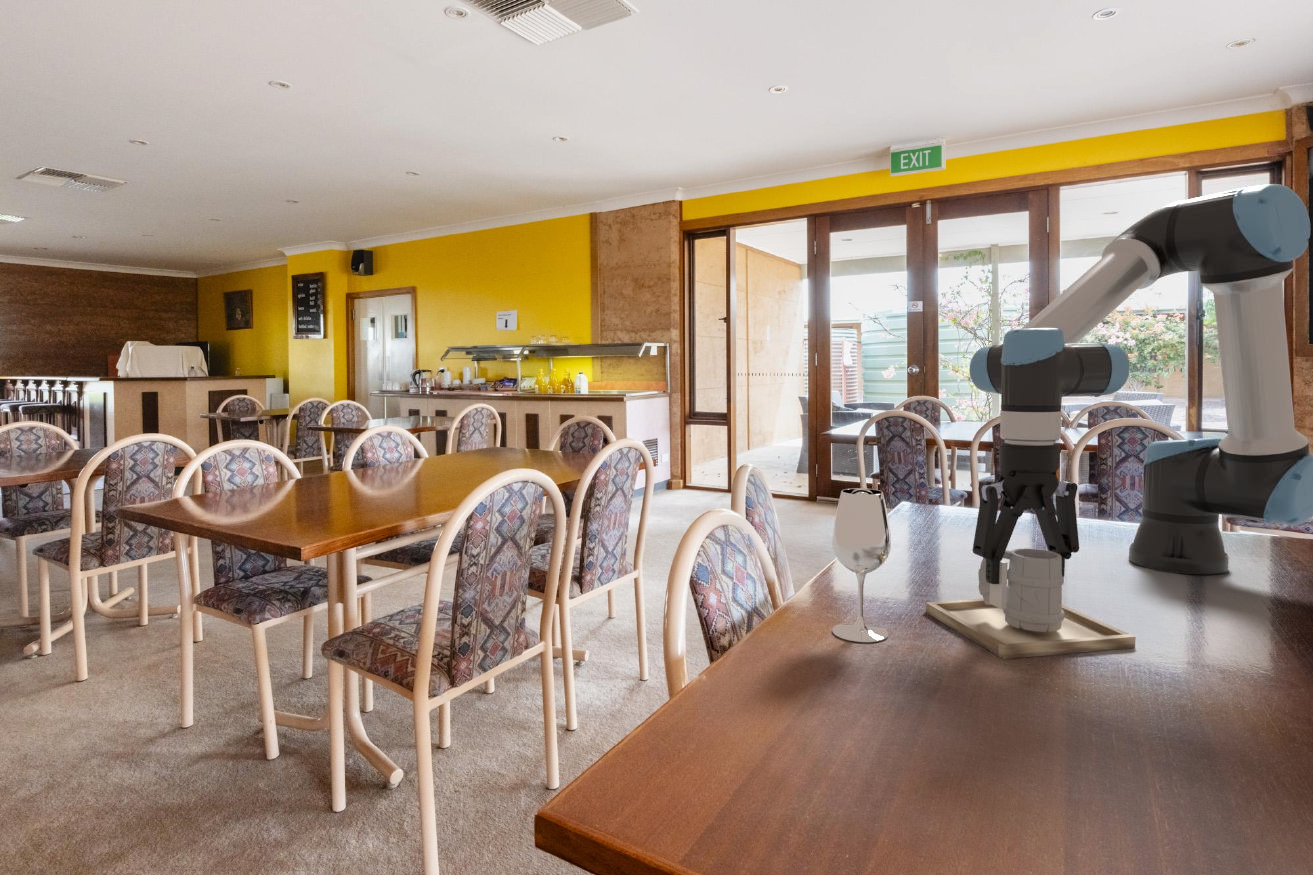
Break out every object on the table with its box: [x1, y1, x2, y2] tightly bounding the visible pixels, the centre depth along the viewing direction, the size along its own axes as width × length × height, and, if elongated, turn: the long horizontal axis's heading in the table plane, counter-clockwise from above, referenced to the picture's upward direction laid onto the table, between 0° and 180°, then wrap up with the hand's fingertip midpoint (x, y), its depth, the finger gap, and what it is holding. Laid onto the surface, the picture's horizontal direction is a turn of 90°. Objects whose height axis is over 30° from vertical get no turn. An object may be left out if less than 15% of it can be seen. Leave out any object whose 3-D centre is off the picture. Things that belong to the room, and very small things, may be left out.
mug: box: [977, 547, 1065, 632], centre depth 108 cm, size 8×12×12 cm, turn 40°
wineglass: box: [831, 487, 892, 643], centre depth 107 cm, size 8×8×20 cm
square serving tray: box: [925, 598, 1137, 660], centre depth 109 cm, size 19×19×2 cm
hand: (1024, 603), depth 109 cm, fingers closed on mug, 7 cm apart
